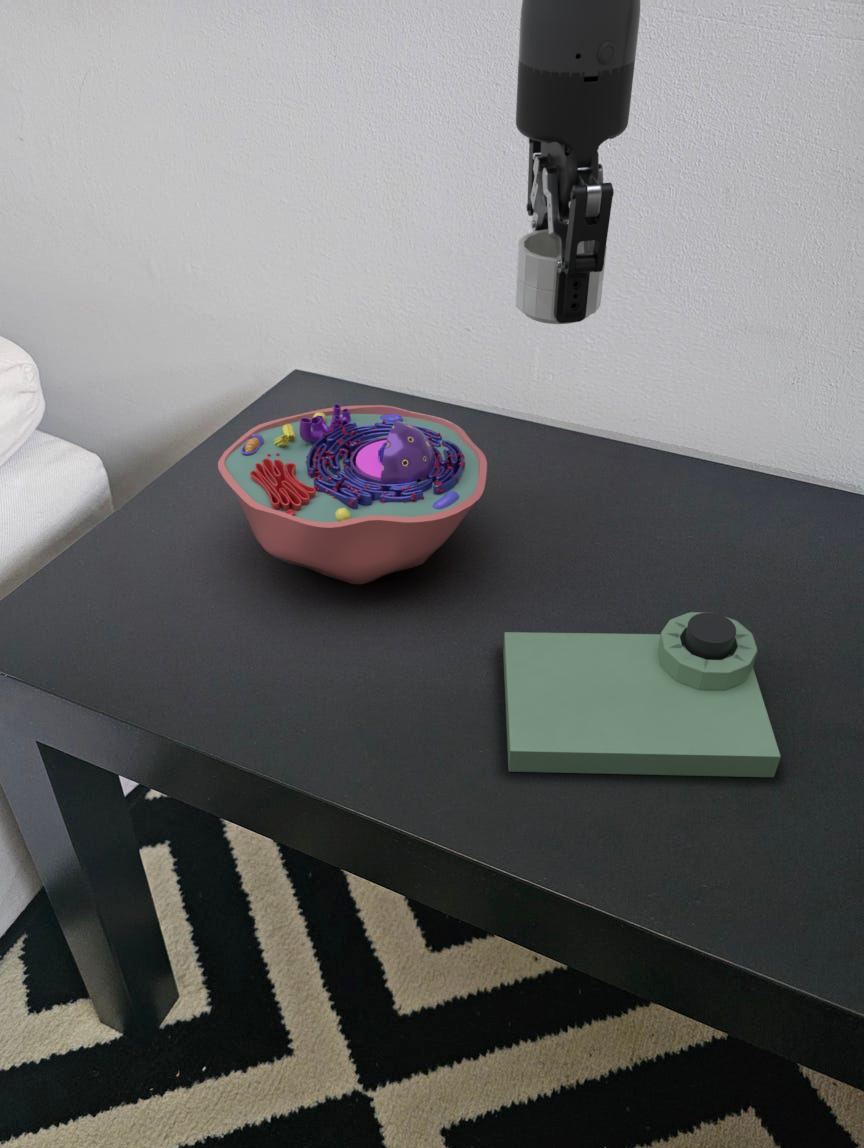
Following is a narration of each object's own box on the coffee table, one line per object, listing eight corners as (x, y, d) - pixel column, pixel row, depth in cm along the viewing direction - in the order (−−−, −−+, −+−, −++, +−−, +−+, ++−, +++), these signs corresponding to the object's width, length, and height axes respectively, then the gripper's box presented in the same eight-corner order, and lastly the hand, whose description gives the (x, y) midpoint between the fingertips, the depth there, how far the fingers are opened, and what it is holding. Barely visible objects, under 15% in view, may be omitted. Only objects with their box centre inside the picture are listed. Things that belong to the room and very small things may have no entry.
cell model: (276, 479, 90) (262, 357, 82) (504, 510, 85) (511, 384, 78) (196, 598, 78) (171, 468, 70) (457, 642, 73) (461, 508, 66)
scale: (736, 651, 72) (746, 612, 69) (774, 777, 63) (787, 737, 61) (502, 648, 72) (505, 609, 70) (508, 772, 64) (511, 732, 62)
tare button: (726, 630, 68) (731, 612, 67) (735, 661, 66) (740, 643, 65) (680, 630, 69) (684, 611, 68) (688, 660, 66) (692, 642, 65)
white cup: (595, 292, 81) (601, 227, 78) (603, 327, 76) (610, 259, 73) (513, 293, 81) (516, 228, 78) (516, 328, 77) (520, 260, 73)
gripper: (498, 32, 73) (490, 268, 84) (545, 83, 62) (529, 346, 73) (603, 26, 73) (581, 261, 84) (668, 75, 62) (634, 338, 73)
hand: (557, 300), depth 78 cm, fingers closed on white cup, 6 cm apart
